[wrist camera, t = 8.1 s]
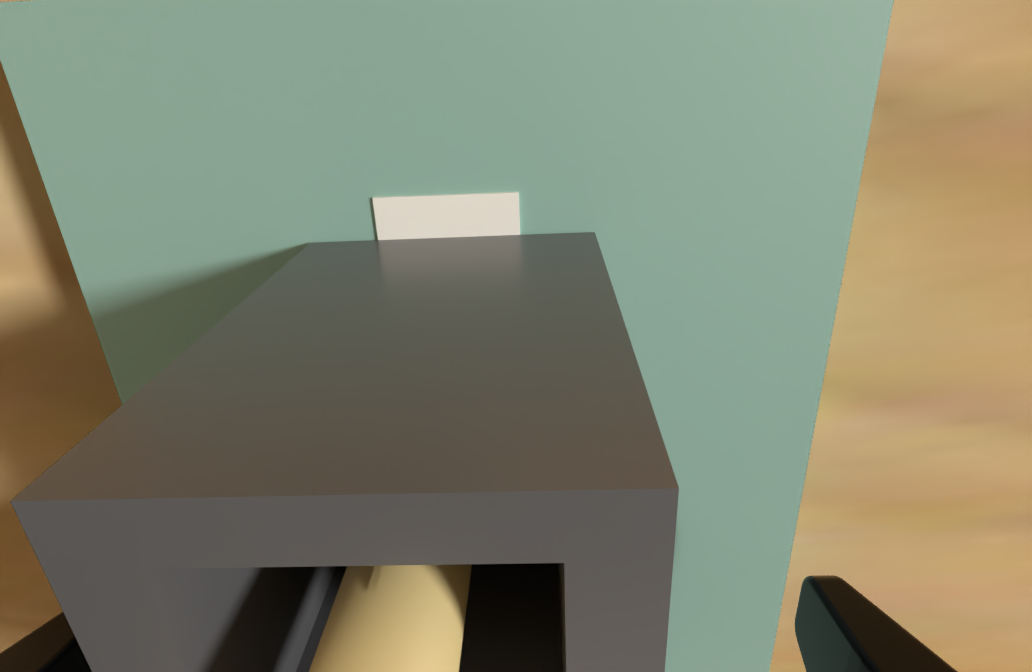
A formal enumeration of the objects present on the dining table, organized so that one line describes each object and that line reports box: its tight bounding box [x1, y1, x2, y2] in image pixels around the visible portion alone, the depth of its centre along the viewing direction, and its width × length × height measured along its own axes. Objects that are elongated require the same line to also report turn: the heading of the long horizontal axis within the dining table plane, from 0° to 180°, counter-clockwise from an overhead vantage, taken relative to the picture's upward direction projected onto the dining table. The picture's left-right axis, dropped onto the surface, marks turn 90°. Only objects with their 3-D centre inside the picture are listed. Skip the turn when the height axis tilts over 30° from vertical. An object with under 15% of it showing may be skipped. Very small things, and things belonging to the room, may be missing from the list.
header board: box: [0, 0, 894, 672], centre depth 8 cm, size 15×10×7 cm, turn 2°
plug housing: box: [10, 232, 679, 672], centre depth 7 cm, size 9×4×5 cm, turn 3°
